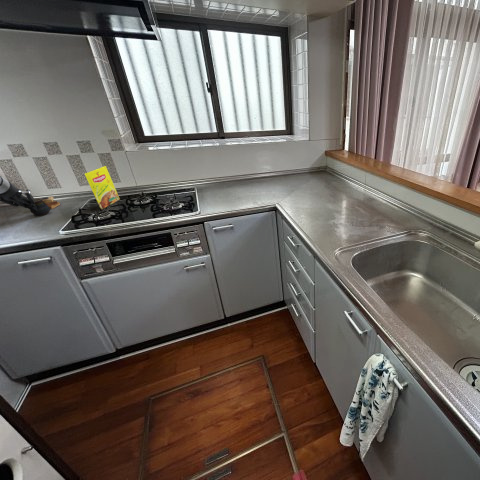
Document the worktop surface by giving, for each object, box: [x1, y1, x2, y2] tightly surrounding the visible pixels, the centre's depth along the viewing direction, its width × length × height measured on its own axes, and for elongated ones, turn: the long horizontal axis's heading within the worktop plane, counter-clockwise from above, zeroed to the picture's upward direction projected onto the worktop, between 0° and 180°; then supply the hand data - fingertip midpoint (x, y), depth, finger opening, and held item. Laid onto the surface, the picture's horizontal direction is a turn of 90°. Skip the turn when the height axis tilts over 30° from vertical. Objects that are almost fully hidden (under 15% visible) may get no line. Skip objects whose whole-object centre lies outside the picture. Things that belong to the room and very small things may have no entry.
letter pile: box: [38, 196, 61, 210], centre depth 149 cm, size 9×9×5 cm
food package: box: [84, 165, 121, 210], centre depth 148 cm, size 15×1×20 cm, turn 179°
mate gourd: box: [29, 198, 51, 217], centre depth 139 cm, size 7×8×10 cm
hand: (35, 209), depth 136 cm, fingers closed
